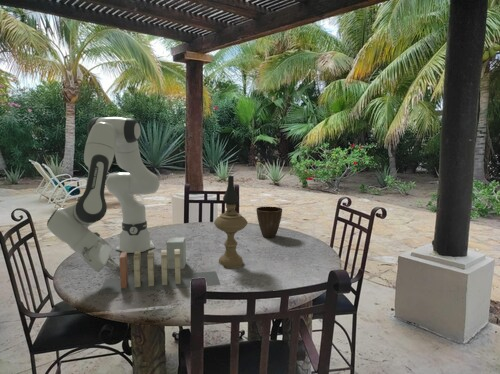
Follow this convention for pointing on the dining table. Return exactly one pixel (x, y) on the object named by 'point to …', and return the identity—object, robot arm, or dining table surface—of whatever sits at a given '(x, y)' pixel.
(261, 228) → the plant pot
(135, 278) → the domino
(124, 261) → the domino
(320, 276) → the dining table surface
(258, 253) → the dining table surface
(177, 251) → the domino
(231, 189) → the oil lamp
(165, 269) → the domino
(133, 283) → the mat
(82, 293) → the dining table surface
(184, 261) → the supplement box
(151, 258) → the domino
